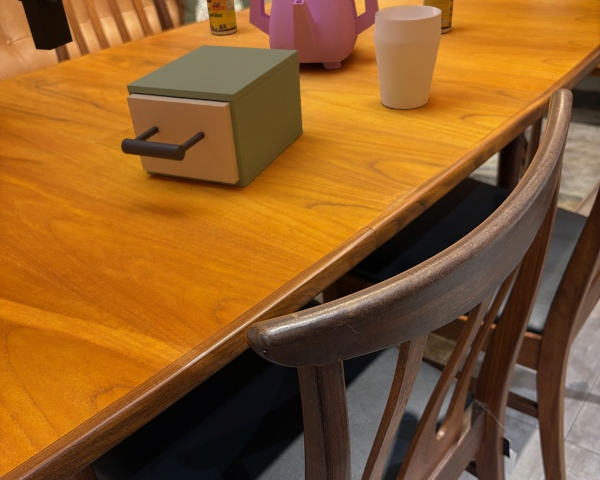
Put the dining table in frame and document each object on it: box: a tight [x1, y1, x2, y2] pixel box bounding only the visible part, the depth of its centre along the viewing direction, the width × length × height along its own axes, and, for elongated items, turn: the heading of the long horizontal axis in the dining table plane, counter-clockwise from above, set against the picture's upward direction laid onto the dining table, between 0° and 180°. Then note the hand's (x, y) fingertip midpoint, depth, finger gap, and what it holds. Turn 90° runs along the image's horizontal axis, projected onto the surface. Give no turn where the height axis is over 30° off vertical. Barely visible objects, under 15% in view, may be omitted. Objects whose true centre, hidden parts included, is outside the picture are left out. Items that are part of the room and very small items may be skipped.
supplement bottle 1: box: [206, 0, 238, 36], centre depth 126 cm, size 6×6×10 cm
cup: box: [373, 4, 442, 110], centre depth 85 cm, size 9×9×12 cm
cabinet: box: [126, 44, 304, 188], centre depth 75 cm, size 17×14×11 cm
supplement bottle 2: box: [422, 0, 455, 34], centre depth 116 cm, size 6×6×10 cm
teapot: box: [248, 0, 380, 70], centre depth 104 cm, size 19×18×15 cm
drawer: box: [120, 94, 239, 184], centre depth 71 cm, size 21×12×9 cm, turn 156°
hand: (54, 44), depth 50 cm, fingers closed
